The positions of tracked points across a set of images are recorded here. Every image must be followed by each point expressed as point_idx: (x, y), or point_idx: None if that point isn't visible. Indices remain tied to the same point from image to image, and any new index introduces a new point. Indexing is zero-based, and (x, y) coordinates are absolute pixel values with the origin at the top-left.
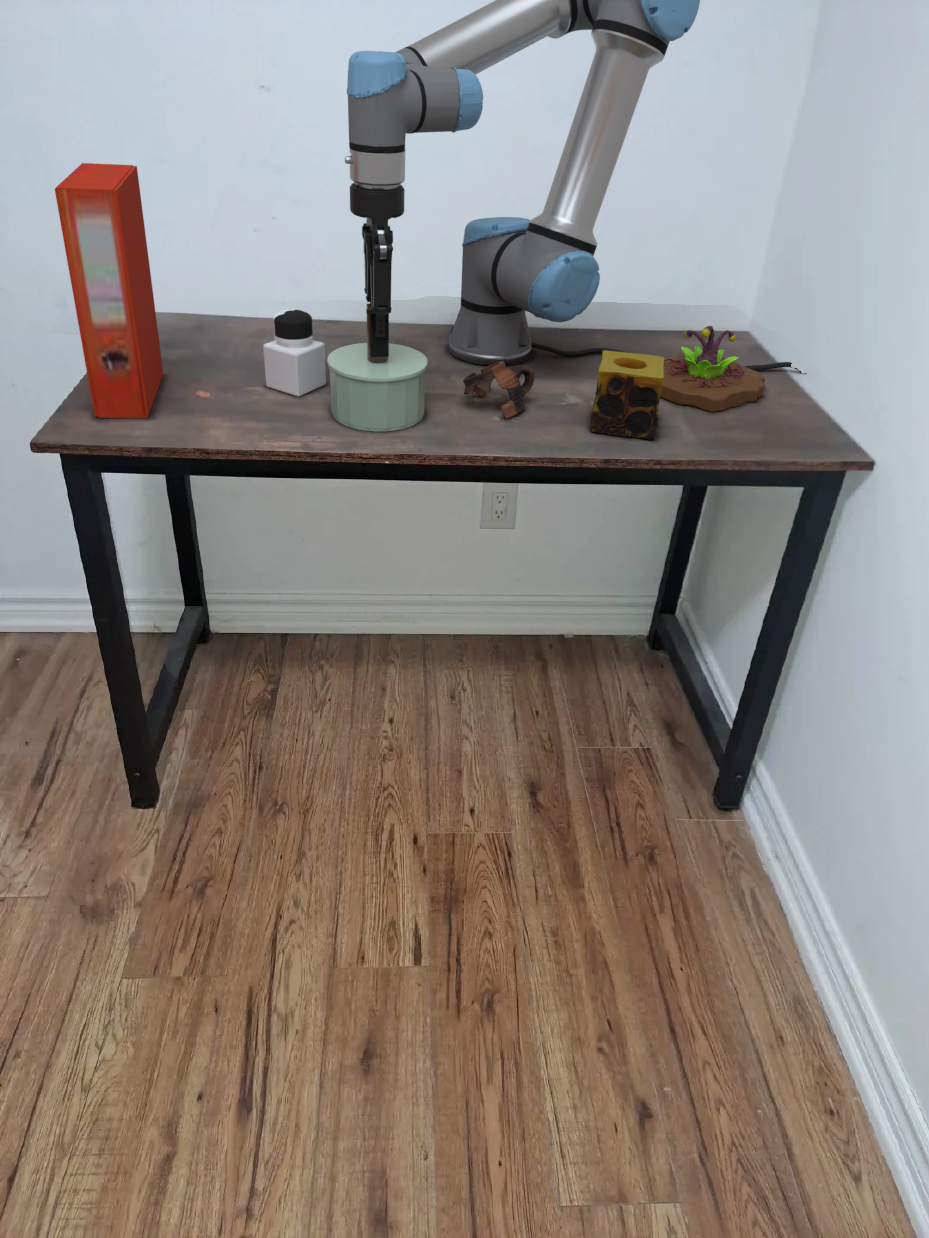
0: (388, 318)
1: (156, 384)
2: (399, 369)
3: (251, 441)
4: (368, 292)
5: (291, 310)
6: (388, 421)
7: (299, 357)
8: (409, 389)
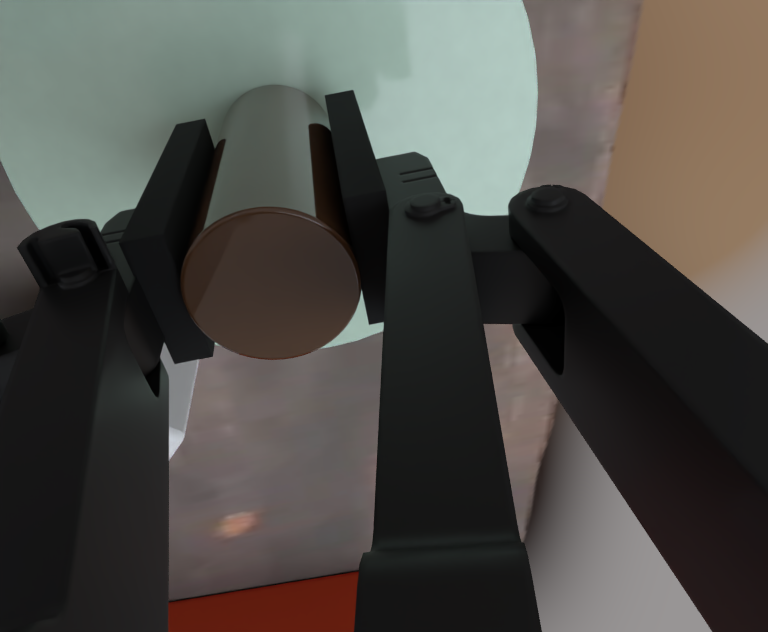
0: (379, 175)
1: (250, 605)
2: (417, 9)
3: (510, 386)
4: (164, 413)
5: None
6: None
7: (173, 422)
8: None
